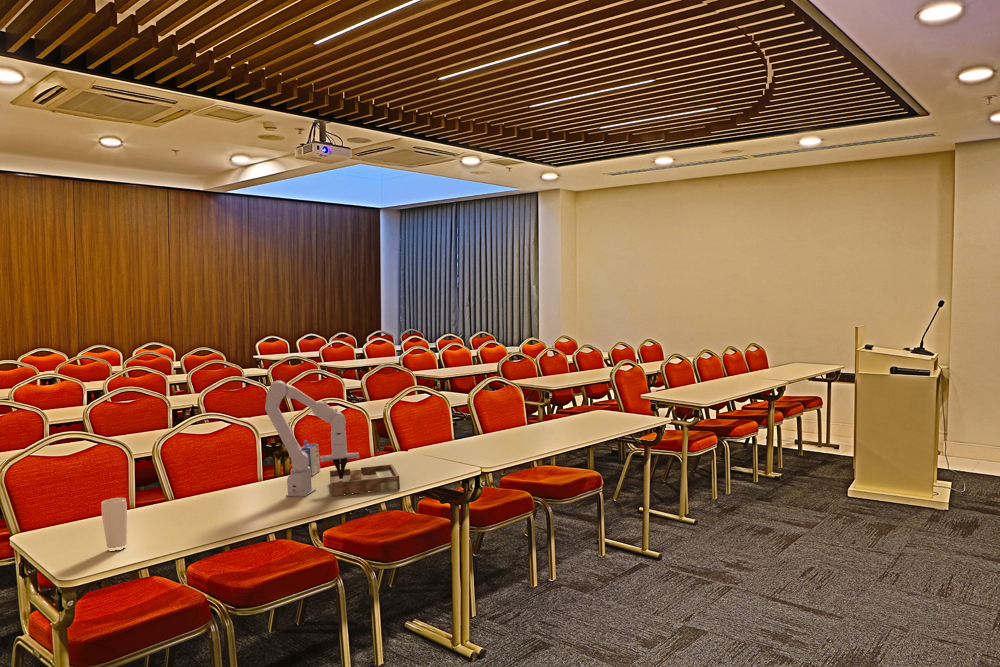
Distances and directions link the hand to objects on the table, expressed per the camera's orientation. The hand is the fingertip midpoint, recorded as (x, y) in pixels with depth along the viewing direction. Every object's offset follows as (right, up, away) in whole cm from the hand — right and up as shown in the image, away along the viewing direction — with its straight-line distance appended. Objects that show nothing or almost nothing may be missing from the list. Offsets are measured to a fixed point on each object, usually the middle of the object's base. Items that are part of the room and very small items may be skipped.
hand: (341, 478), depth 281 cm
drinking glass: (-54, -10, -61) cm, 82 cm away
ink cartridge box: (-19, -4, +28) cm, 34 cm away
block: (+6, -1, +2) cm, 6 cm away
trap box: (+9, -4, +2) cm, 10 cm away
